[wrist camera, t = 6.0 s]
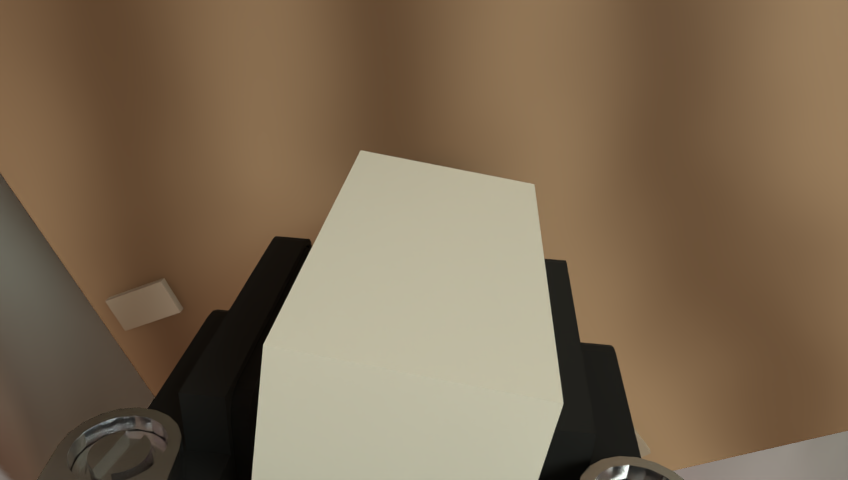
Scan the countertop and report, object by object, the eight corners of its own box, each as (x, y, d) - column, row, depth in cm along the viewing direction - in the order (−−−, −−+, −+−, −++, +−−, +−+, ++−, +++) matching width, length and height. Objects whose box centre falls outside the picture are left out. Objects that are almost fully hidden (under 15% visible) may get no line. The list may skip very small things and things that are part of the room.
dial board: (765, -524, 12) (796, -570, 11) (912, 381, 20) (940, 415, 19) (-108, -47, 17) (-155, -42, 16) (279, 533, 25) (267, 568, 23)
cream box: (404, 63, 16) (262, 344, 6) (521, 86, 16) (562, 403, 6) (334, 497, 22) (207, 983, 12) (419, 514, 22) (360, 1013, 12)
